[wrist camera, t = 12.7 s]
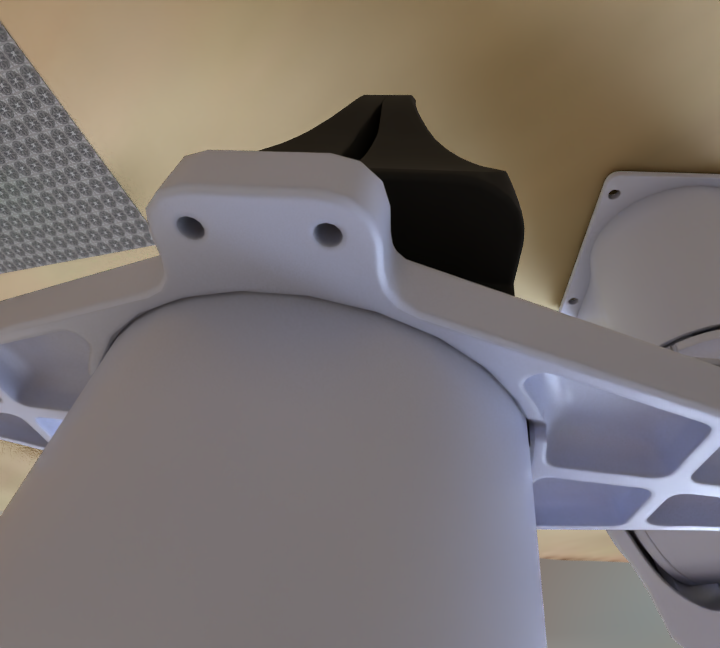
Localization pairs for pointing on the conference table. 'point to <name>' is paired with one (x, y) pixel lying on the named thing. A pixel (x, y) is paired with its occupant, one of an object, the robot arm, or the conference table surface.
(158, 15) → the conference table surface
